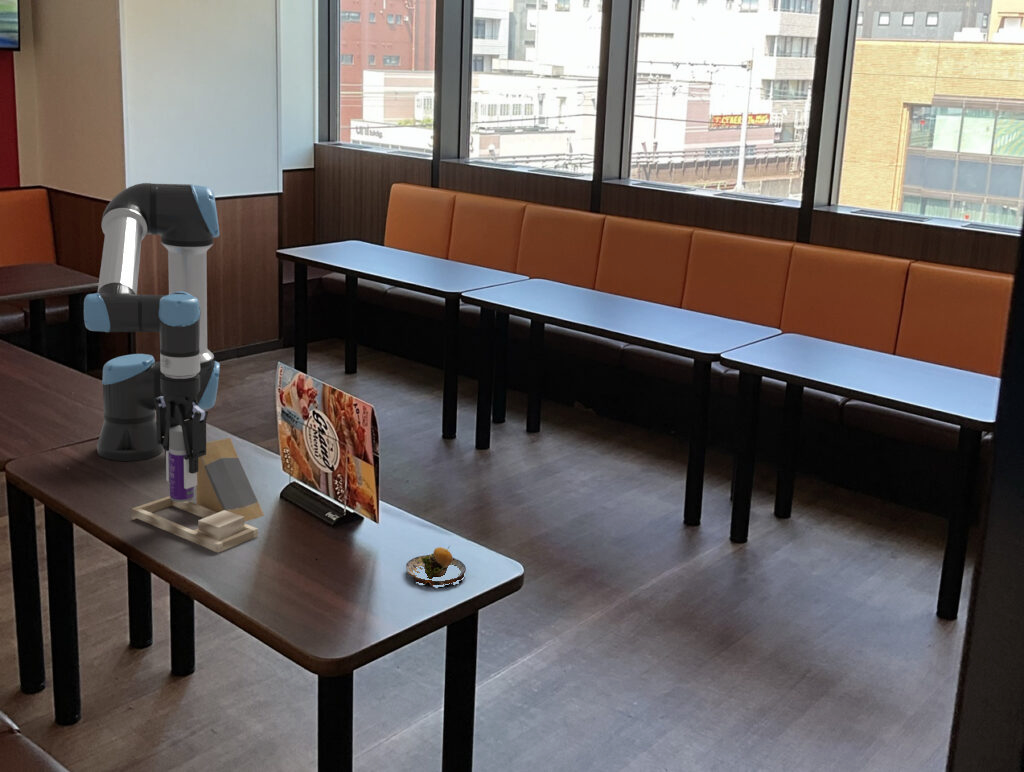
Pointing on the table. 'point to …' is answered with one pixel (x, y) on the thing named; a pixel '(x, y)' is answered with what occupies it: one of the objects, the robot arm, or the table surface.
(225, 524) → the offcut top
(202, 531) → the block
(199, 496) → the sandwich container
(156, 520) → the frame
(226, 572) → the table surface
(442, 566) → the plate of food
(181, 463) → the container
